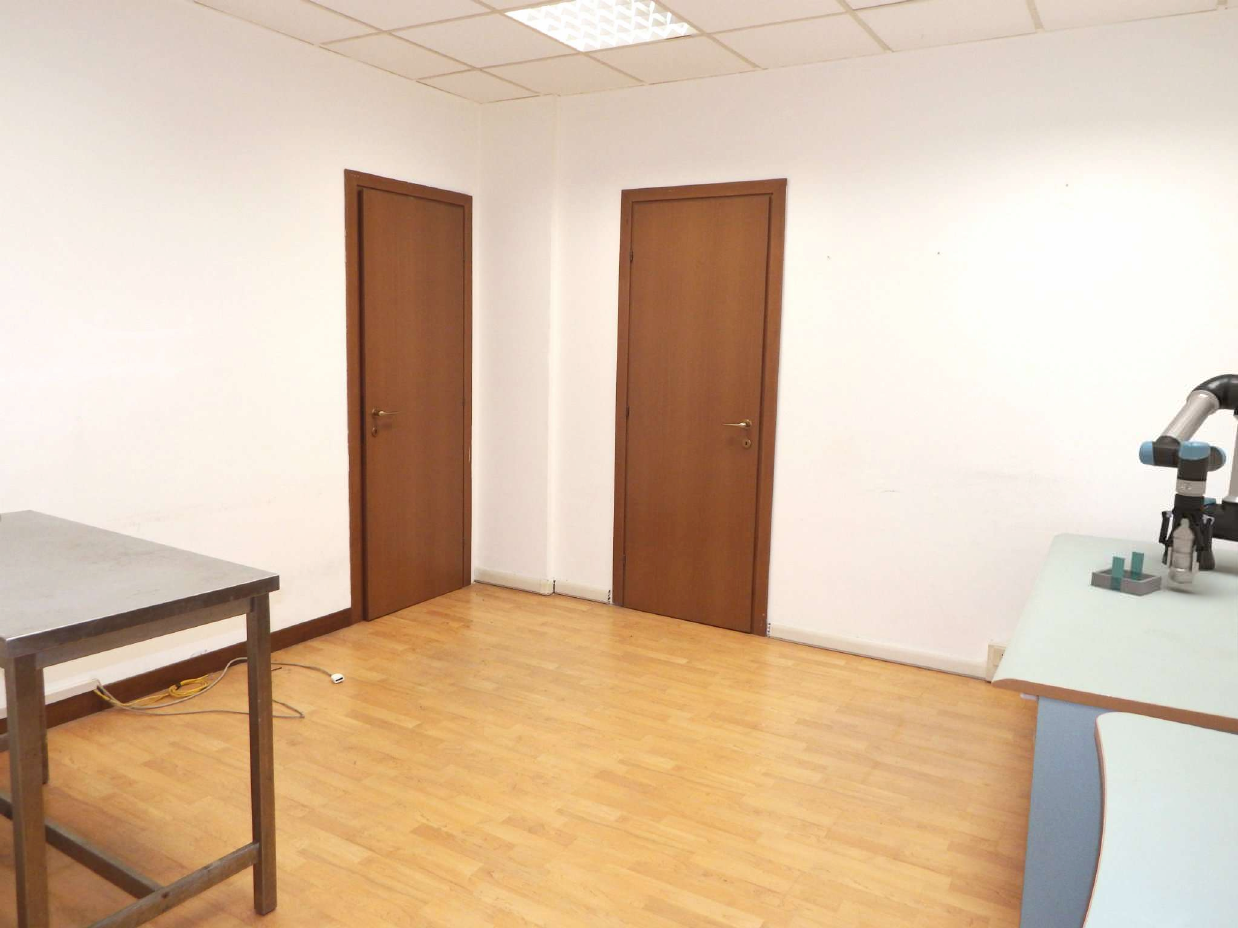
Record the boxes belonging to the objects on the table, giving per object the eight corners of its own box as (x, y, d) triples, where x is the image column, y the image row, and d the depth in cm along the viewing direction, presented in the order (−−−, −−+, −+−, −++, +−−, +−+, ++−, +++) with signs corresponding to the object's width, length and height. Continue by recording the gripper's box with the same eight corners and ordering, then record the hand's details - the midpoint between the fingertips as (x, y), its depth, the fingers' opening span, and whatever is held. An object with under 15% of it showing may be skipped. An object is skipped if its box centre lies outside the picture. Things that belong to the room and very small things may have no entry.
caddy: (1111, 579, 283) (1115, 547, 282) (1160, 589, 273) (1163, 556, 271) (1090, 585, 275) (1094, 552, 274) (1139, 595, 264) (1143, 562, 263)
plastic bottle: (1197, 586, 268) (1204, 520, 265) (1172, 585, 269) (1179, 518, 266) (1188, 581, 274) (1195, 515, 271) (1163, 579, 275) (1170, 514, 272)
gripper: (1149, 490, 273) (1142, 565, 276) (1221, 500, 258) (1213, 579, 261) (1160, 488, 277) (1153, 562, 281) (1231, 497, 262) (1223, 575, 266)
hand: (1182, 570), depth 271 cm, fingers closed on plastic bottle, 6 cm apart
